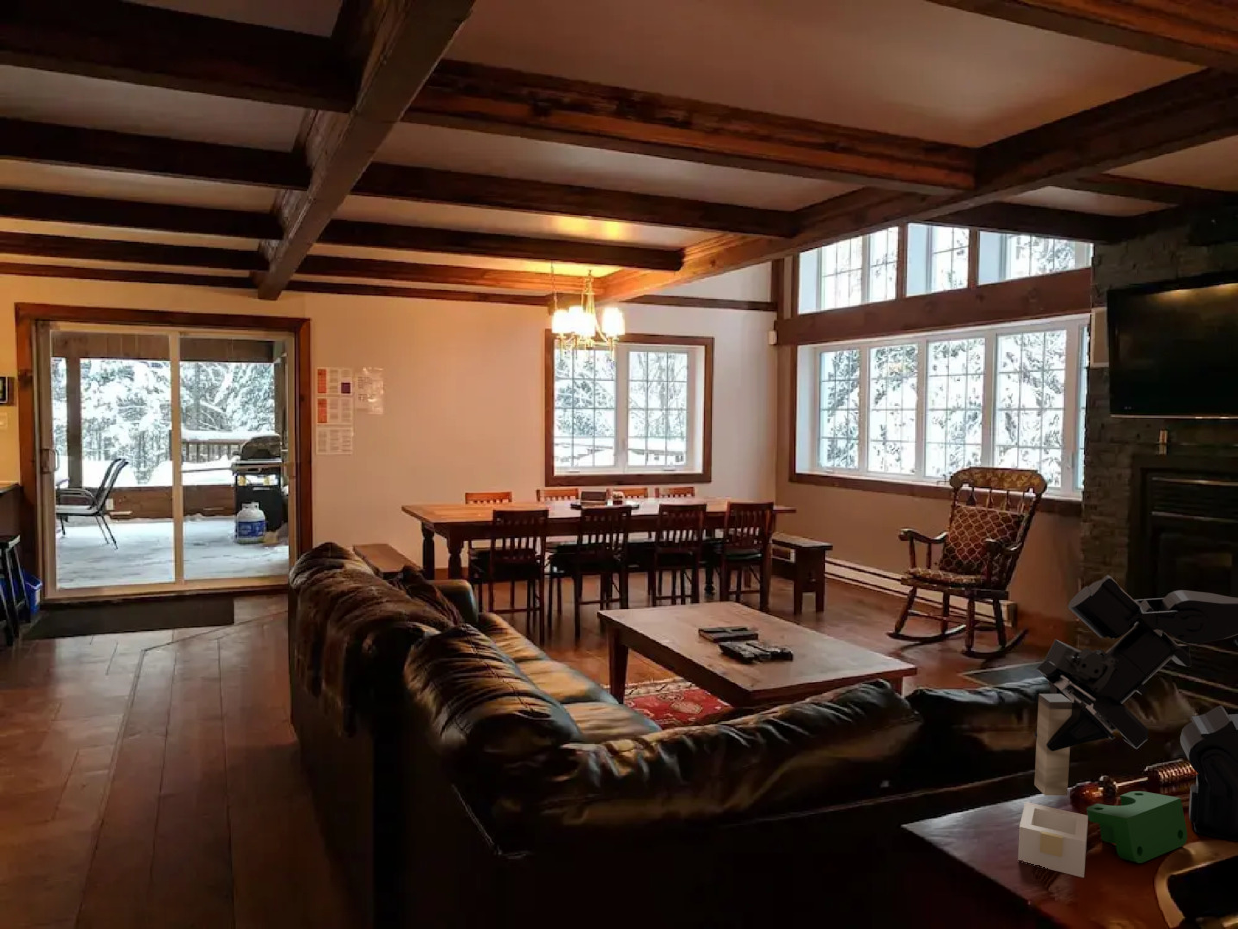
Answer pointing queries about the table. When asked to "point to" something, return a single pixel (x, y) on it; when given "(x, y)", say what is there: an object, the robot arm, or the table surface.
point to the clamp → (1141, 825)
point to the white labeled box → (1053, 839)
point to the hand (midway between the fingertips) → (1042, 743)
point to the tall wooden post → (1048, 763)
